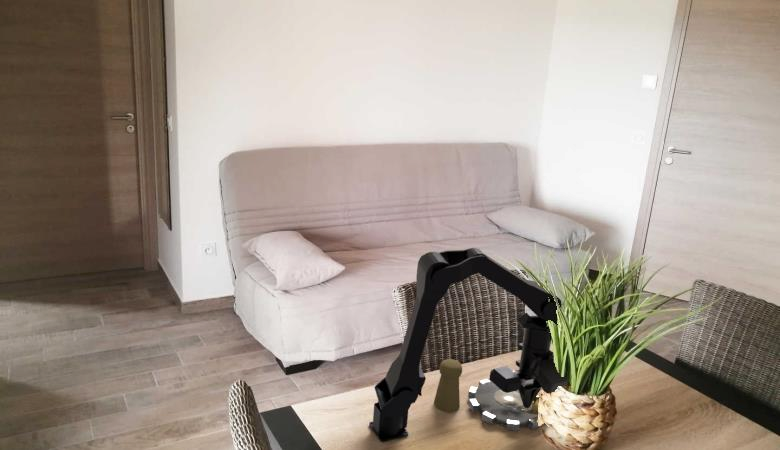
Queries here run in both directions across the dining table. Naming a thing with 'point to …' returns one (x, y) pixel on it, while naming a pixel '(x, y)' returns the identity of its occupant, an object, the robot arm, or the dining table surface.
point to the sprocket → (502, 406)
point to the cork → (448, 386)
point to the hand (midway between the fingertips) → (526, 407)
